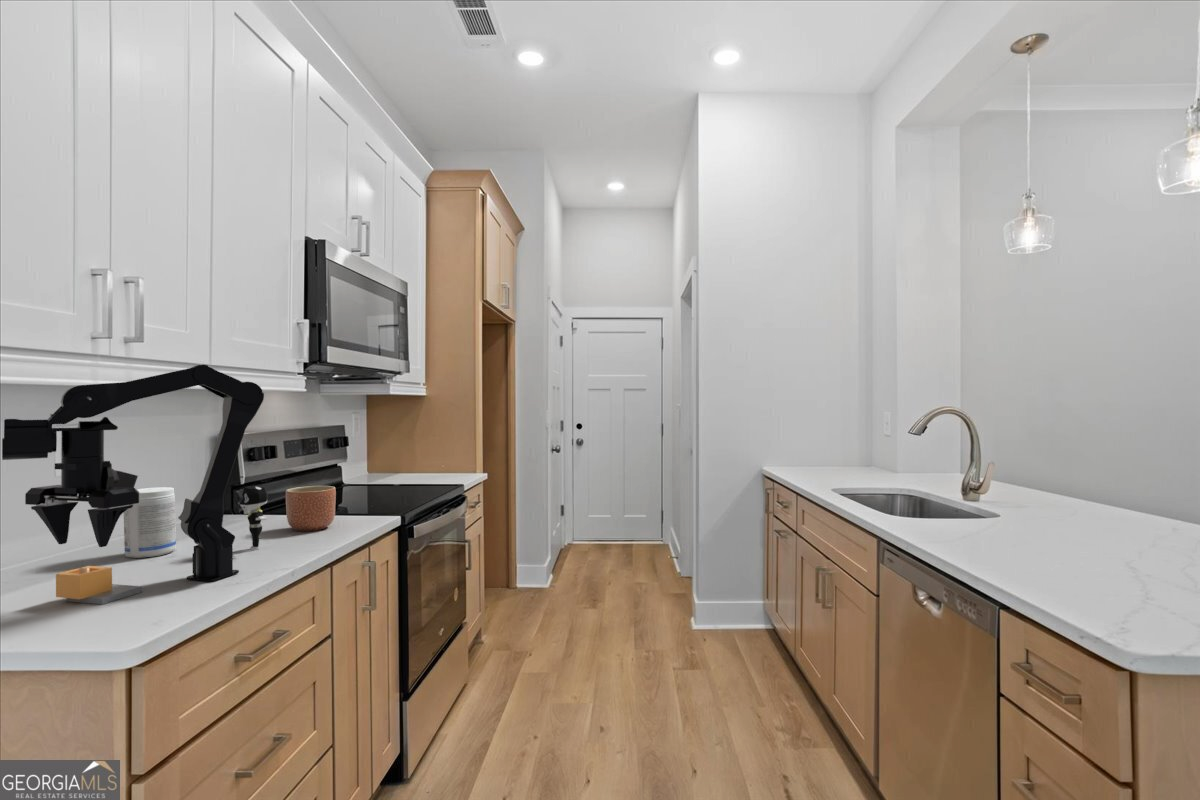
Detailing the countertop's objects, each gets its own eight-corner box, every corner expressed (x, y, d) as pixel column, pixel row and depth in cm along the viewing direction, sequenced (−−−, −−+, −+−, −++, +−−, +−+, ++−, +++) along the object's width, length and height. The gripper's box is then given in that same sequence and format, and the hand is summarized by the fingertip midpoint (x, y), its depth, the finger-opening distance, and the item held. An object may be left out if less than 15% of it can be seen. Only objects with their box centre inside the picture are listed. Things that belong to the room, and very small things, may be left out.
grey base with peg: (141, 591, 112) (141, 561, 112) (102, 604, 105) (102, 572, 105) (107, 588, 114) (107, 559, 114) (66, 600, 107) (66, 569, 107)
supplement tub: (185, 548, 145) (184, 486, 145) (158, 558, 136) (158, 492, 136) (142, 549, 144) (142, 487, 145) (112, 559, 135) (112, 492, 135)
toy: (233, 546, 147) (232, 483, 147) (261, 542, 151) (261, 481, 151) (246, 556, 137) (246, 489, 137) (276, 552, 141) (276, 487, 141)
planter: (332, 522, 176) (332, 484, 176) (339, 530, 165) (339, 489, 165) (283, 527, 169) (283, 487, 169) (288, 535, 159) (287, 493, 159)
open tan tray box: (112, 589, 110) (111, 567, 110) (79, 599, 104) (79, 575, 104) (88, 587, 111) (88, 565, 111) (55, 597, 106) (55, 573, 106)
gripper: (167, 453, 113) (167, 538, 113) (89, 452, 118) (89, 533, 118) (106, 459, 102) (106, 552, 102) (23, 456, 107) (22, 546, 107)
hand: (82, 545), depth 108 cm, fingers open, 9 cm apart
